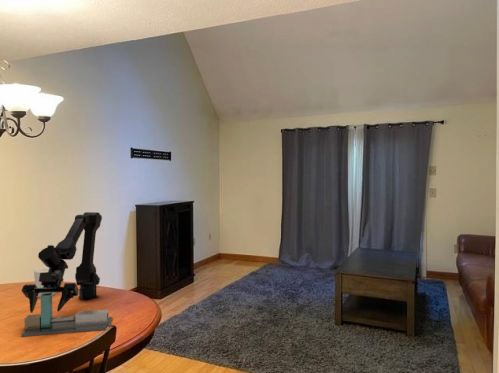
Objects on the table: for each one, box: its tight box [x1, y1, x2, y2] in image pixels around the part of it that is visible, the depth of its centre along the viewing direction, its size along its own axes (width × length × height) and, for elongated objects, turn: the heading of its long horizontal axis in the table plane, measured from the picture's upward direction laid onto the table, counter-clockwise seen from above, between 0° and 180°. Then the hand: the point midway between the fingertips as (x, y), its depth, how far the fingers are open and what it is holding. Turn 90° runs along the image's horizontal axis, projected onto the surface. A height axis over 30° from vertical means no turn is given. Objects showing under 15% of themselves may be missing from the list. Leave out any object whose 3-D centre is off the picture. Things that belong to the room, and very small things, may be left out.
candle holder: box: [33, 266, 57, 298], centre depth 177 cm, size 10×10×12 cm
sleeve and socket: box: [20, 308, 113, 337], centre depth 139 cm, size 29×10×5 cm, turn 102°
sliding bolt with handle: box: [40, 293, 75, 328], centre depth 138 cm, size 18×3×12 cm, turn 102°
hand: (44, 311), depth 136 cm, fingers open, 9 cm apart
